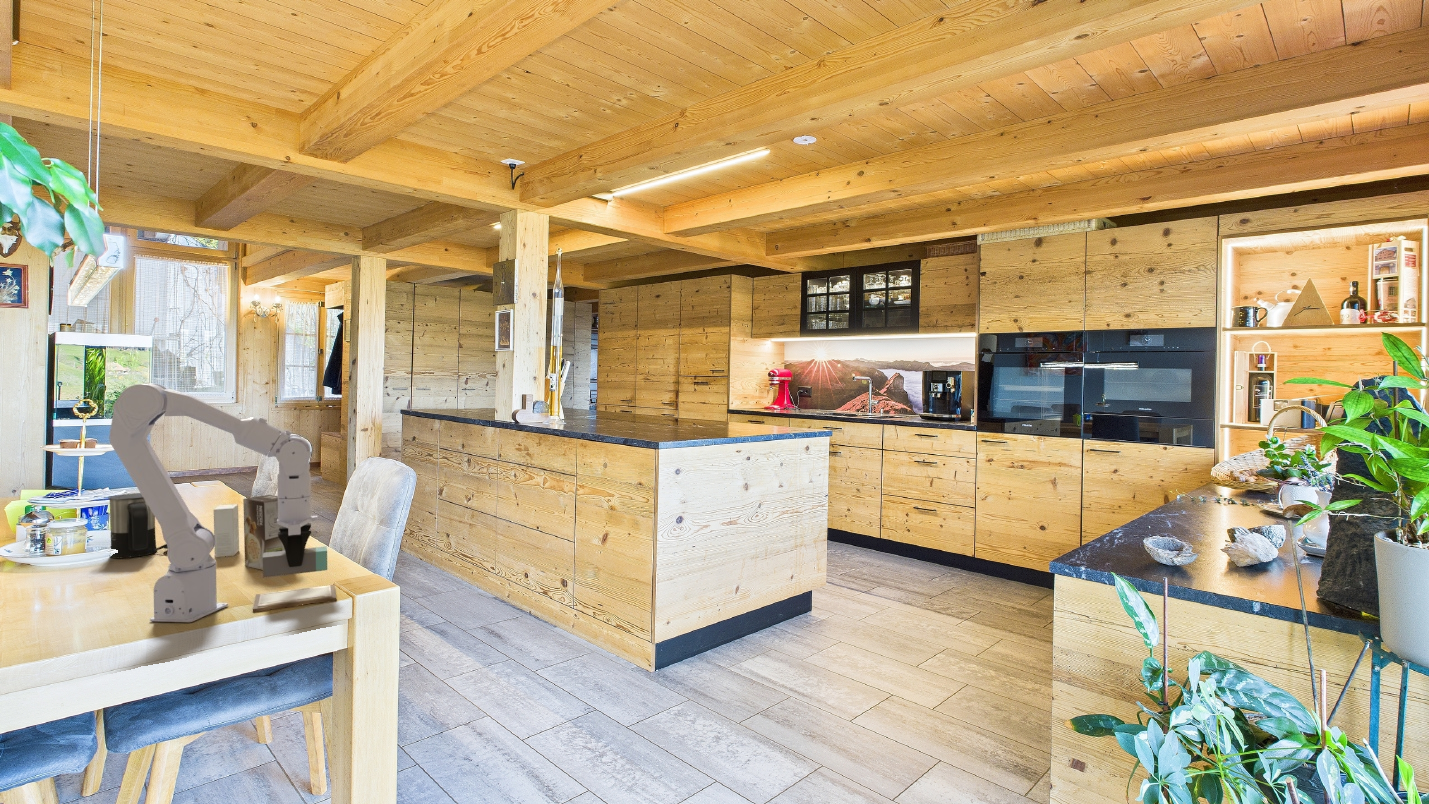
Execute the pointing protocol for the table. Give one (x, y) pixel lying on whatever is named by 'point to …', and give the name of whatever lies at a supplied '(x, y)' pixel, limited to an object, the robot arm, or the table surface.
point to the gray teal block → (311, 563)
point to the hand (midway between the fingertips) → (295, 563)
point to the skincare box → (226, 530)
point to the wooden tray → (294, 597)
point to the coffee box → (260, 529)
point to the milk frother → (132, 526)
